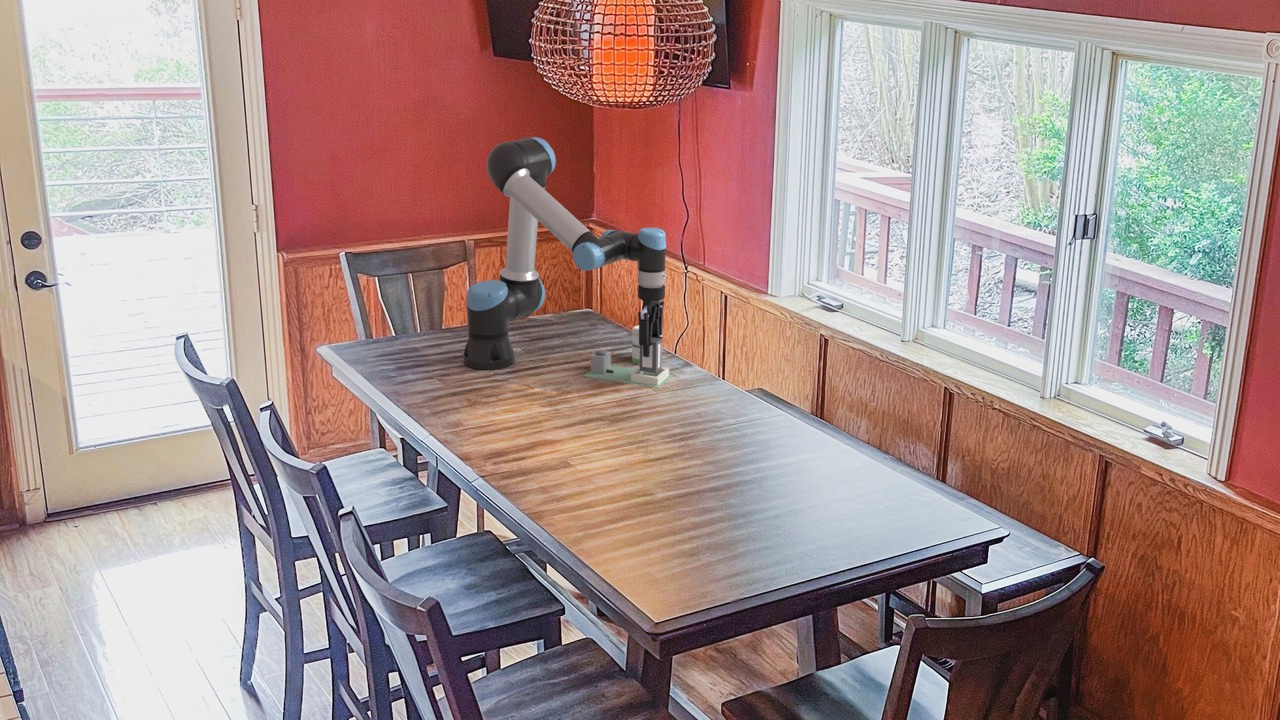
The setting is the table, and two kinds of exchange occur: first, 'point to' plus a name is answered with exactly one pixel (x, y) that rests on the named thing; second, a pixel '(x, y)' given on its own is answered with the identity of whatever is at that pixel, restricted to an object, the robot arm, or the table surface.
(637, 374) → the white square frame
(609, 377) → the board
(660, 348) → the plug
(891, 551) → the table surface
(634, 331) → the ink box
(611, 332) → the table surface
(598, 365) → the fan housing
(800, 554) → the table surface
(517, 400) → the table surface
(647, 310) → the robot arm
